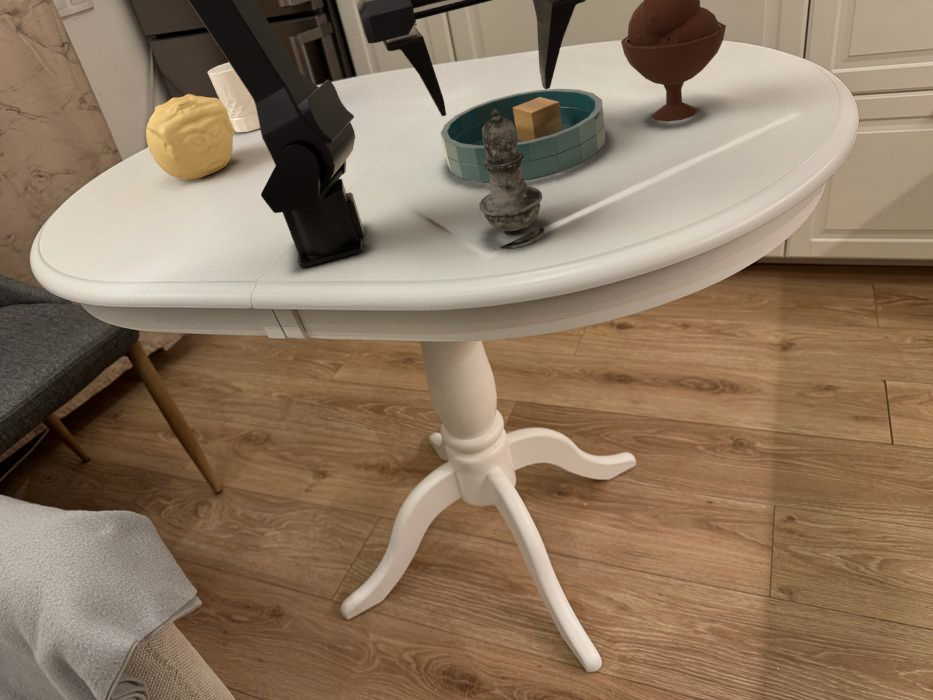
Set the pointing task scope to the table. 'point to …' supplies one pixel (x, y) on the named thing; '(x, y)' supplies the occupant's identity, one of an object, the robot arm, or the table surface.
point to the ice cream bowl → (672, 48)
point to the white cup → (234, 98)
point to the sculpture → (190, 136)
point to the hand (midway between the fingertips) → (495, 101)
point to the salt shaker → (508, 184)
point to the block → (537, 119)
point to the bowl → (541, 154)
